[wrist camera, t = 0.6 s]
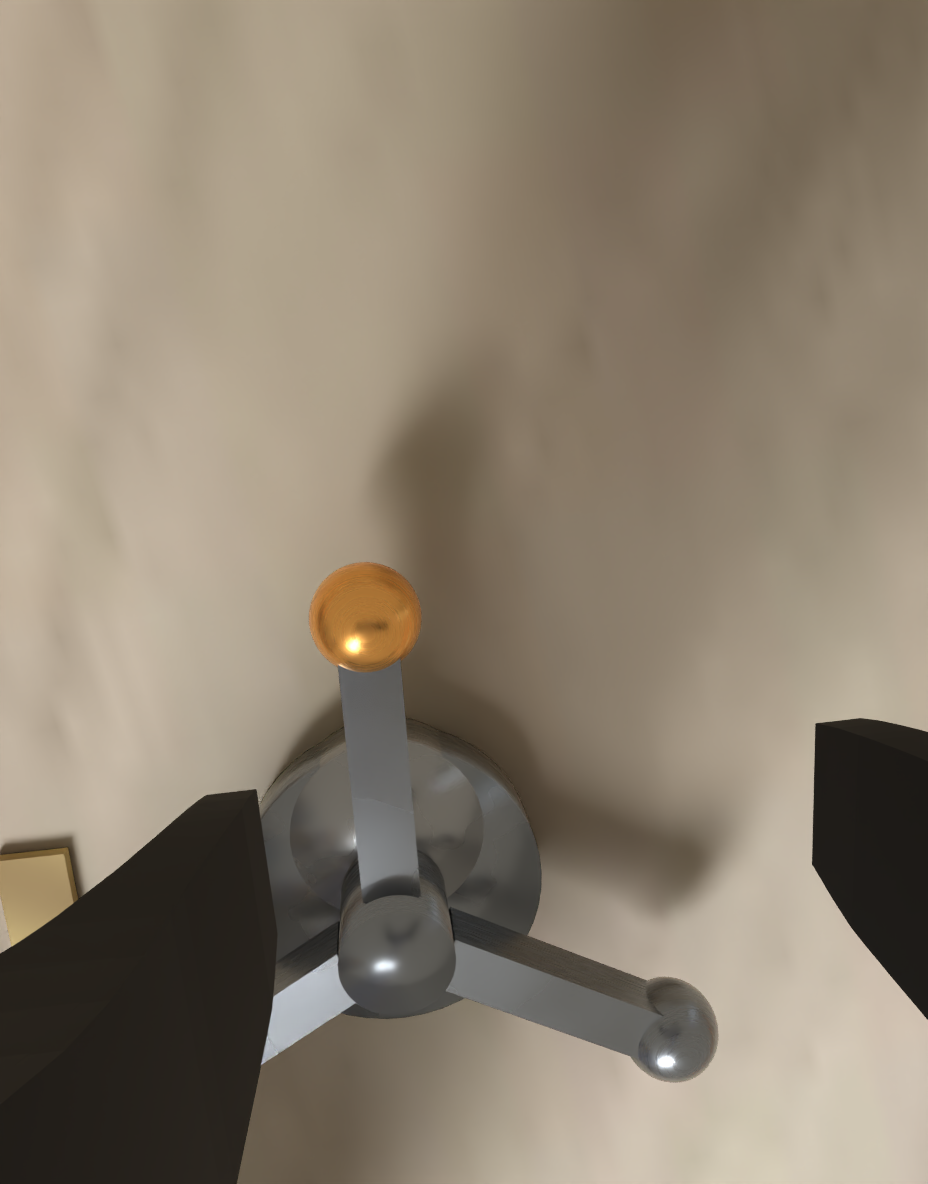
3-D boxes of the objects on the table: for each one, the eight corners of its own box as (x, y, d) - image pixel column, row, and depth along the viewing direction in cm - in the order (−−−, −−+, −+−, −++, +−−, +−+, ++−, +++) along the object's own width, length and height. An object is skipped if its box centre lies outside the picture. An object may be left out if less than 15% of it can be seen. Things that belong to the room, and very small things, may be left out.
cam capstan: (671, 977, 24) (734, 1101, 20) (125, 1049, 23) (73, 1197, 19) (668, 510, 21) (741, 544, 17) (33, 563, 19) (-54, 613, 15)
